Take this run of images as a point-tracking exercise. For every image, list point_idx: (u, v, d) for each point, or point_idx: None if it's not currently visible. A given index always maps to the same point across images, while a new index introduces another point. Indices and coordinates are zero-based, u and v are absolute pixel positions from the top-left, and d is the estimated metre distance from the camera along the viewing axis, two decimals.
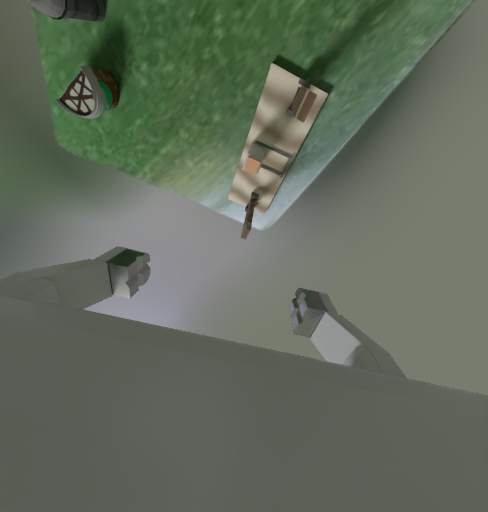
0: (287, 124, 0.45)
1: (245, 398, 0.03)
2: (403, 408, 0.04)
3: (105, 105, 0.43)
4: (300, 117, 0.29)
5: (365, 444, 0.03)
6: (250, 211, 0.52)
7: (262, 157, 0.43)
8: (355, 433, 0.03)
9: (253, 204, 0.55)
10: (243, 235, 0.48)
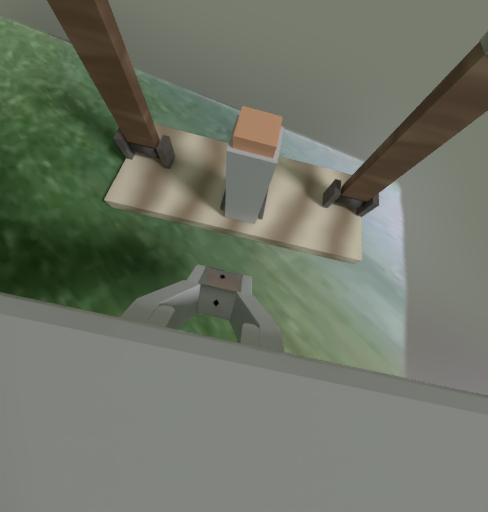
0: (188, 164, 0.25)
1: (245, 398, 0.03)
2: (403, 408, 0.04)
3: None
4: None
5: (365, 444, 0.03)
6: (393, 140, 0.16)
7: None
8: (355, 433, 0.03)
9: (358, 172, 0.20)
10: None
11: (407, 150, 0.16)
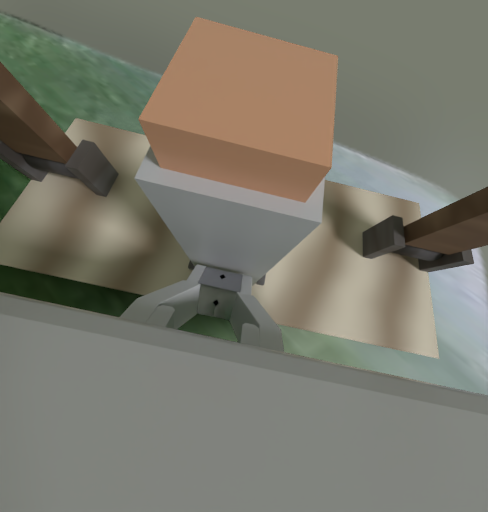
0: (140, 187, 0.15)
1: (245, 398, 0.03)
2: (403, 408, 0.04)
3: None
4: None
5: (365, 444, 0.03)
6: None
7: None
8: (355, 433, 0.03)
9: (451, 212, 0.10)
10: None
11: None
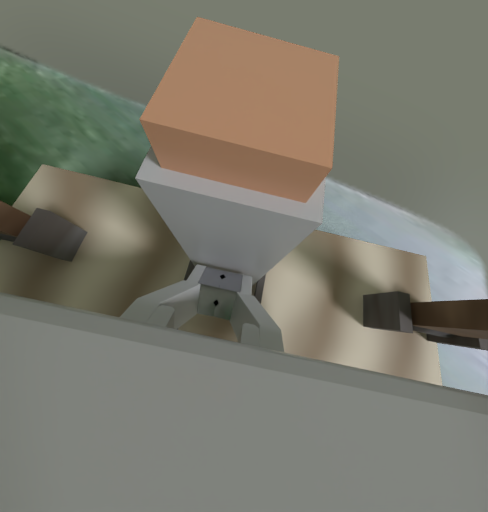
0: (111, 248, 0.13)
1: (245, 398, 0.03)
2: (403, 408, 0.04)
3: None
4: None
5: (365, 445, 0.03)
6: None
7: None
8: (355, 433, 0.03)
9: (470, 311, 0.09)
10: None
11: None
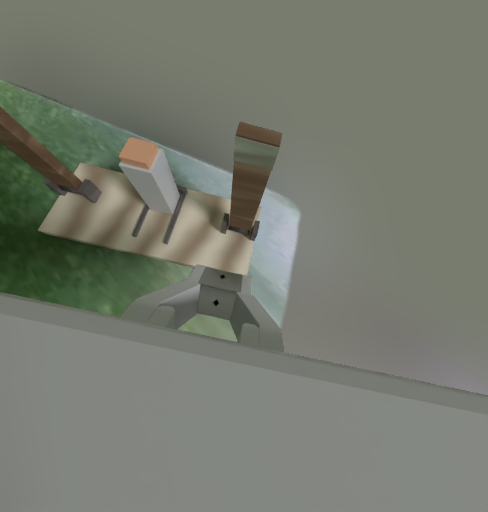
0: (112, 198, 0.31)
1: (245, 398, 0.03)
2: (403, 408, 0.04)
3: None
4: None
5: (365, 444, 0.03)
6: (232, 195, 0.22)
7: None
8: (355, 433, 0.03)
9: None
10: (268, 138, 0.14)
11: (243, 202, 0.22)
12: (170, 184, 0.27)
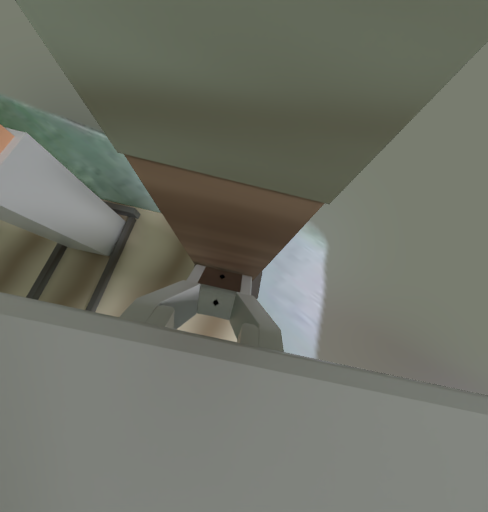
0: (3, 228, 0.18)
1: (245, 398, 0.03)
2: (403, 408, 0.04)
3: None
4: None
5: (365, 445, 0.03)
6: None
7: None
8: (355, 433, 0.03)
9: None
10: None
11: (221, 264, 0.09)
12: (88, 206, 0.14)
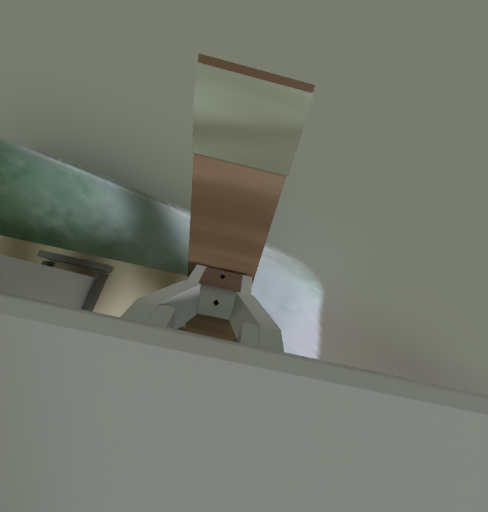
0: None
1: (245, 398, 0.03)
2: (403, 408, 0.04)
3: None
4: None
5: (365, 444, 0.03)
6: None
7: None
8: (355, 433, 0.03)
9: None
10: None
11: None
12: (40, 283, 0.12)
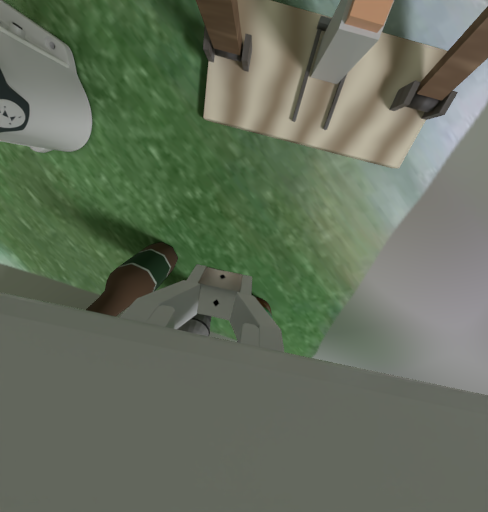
0: (265, 61, 0.25)
1: (245, 398, 0.03)
2: (403, 408, 0.04)
3: None
4: None
5: (365, 445, 0.03)
6: None
7: None
8: (355, 433, 0.03)
9: (442, 60, 0.21)
10: None
11: None
12: None
